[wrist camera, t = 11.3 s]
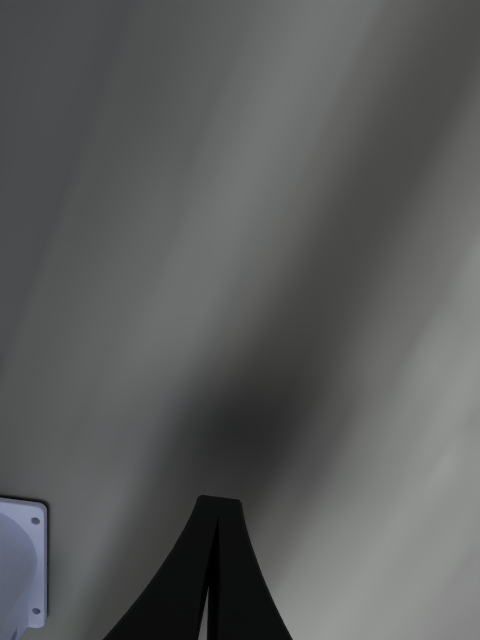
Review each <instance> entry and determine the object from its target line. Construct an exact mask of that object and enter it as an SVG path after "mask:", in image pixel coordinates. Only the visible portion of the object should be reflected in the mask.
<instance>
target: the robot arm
mask: <svg viewBox="0 0 480 640" xmlns="http://www.w3.org/2000/svg"><path fill="white" fill-rule="evenodd" d="M37 518H38V519H37ZM208 586H209V592H208V622H207V640H293V639H292V637H291V636H290V634H289V632H288V630H287V628H286V626H285V624H284V622H283V620H282V618H281V616H280V614H279V612H278V610H277V608H276V606H275V603H274V601H273V599H272V597H271V594H270V592H269V590H268V587H267V585H266V583H265V580H264V578H263V575H262V573H261V570H260V567H259V565H258V562H257V559H256V556H255V553H254V550H253V547H252V545H251V541H250V538H249V535H248V531H247V527H246V524H245V519H244V515H243V509H242V503H241V502H240V500H237V499H229V498H222V497H214V496H206V495H201V496H199V497H198V498H197V501H196V504H195V507H194V509H193V512H192V514H191V516H190V518H189V520H188V522H187V524H186V526H185V528H184V530H183V531H182V533H181V535H180V537H179V538H178V540H177V542H176V544H175V545H174V547H173V549H172V550H171V552H170V553H169V555H168V556H167V558H166V560H165V561H164V563H163V564H162V566H161V567H160V569H159V570H158V572H157V573H156V575H155V576H154V577H153V579H152V580H151V581H150V583H149V584H148V586H147V587H146V588H145V590H144V591H143V592H142V594H141V595H140V596H139V597H138V599H137V600H136V601H135V603H134V604H133V605H132V606H131V607H130V609H129V610H128V611H127V612H126V613H125V615H124V616H123V617H122V618H121V619H120V621H119V622H118V623H117V624H116V625H115V626H114V628H113V629H112V630H111V631H110V632H109V633H108V634H107V635H106V637H105V638H104V639H103V640H198V637H199V632H200V627H201V622H202V617H203V611H204V606H205V601H206V596H207V591H208ZM46 620H47V508H46V507H45V505H43V504H42V503H38V502H30V501H22V500H15V499H7V498H0V640H20V639H21V638H22V636H23V634H24V632H25V631H26V629H27V627H31V628H41V627H43V626H44V624H45V622H46Z"/></svg>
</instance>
